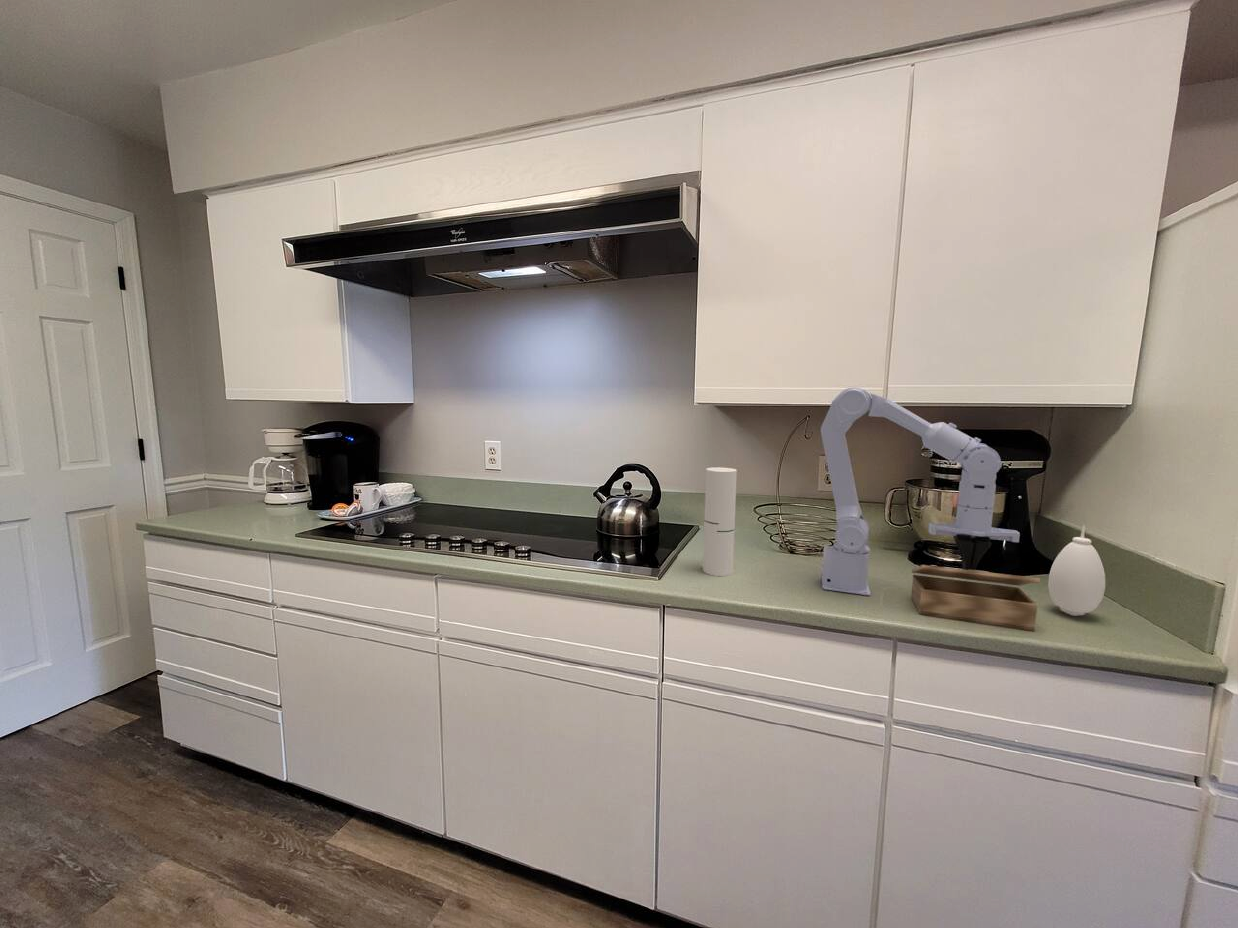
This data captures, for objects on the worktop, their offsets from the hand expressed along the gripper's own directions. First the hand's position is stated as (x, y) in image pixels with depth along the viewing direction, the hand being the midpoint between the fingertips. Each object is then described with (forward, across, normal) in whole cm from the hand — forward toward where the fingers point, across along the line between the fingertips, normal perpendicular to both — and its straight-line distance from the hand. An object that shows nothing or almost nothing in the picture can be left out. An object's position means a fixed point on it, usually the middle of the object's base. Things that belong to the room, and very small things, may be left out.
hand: (968, 572), depth 97 cm
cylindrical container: (+8, -50, +2) cm, 51 cm away
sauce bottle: (+8, +19, +5) cm, 21 cm away
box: (+7, 0, -3) cm, 8 cm away
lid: (0, 0, -2) cm, 2 cm away
